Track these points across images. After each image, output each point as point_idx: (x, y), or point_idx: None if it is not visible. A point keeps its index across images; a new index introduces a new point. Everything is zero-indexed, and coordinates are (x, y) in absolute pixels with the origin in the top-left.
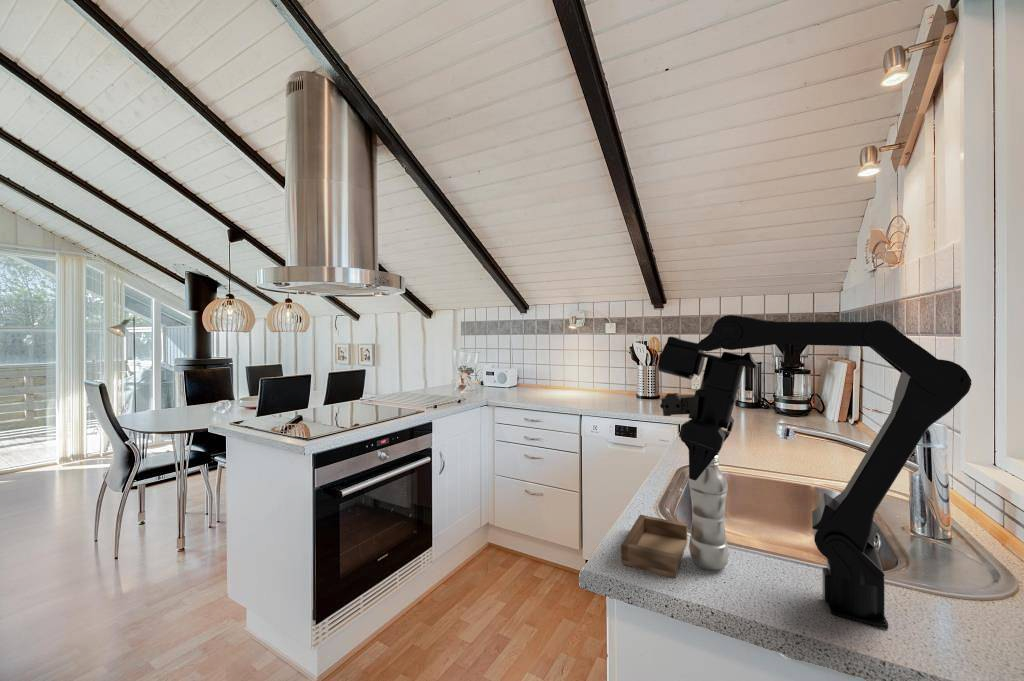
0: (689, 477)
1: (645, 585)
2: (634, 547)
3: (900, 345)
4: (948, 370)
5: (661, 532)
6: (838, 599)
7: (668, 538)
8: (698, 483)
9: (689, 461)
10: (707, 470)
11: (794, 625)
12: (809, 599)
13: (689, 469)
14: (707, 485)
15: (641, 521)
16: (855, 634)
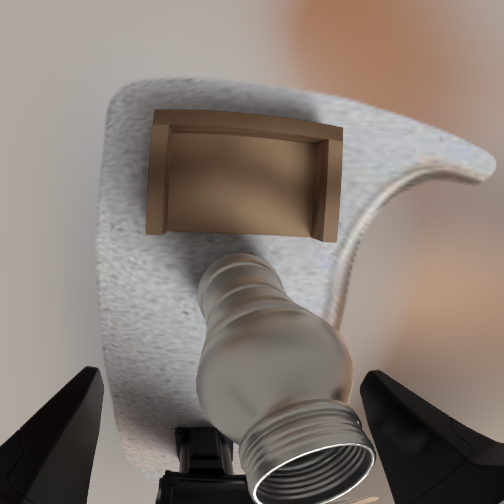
0: (84, 368)
1: (107, 181)
2: (153, 139)
3: None
4: None
5: (316, 182)
6: (187, 444)
7: (301, 199)
8: (209, 367)
9: (23, 426)
10: (241, 434)
11: (124, 390)
12: (201, 412)
13: (55, 395)
14: (201, 397)
15: (305, 133)
16: (150, 436)
